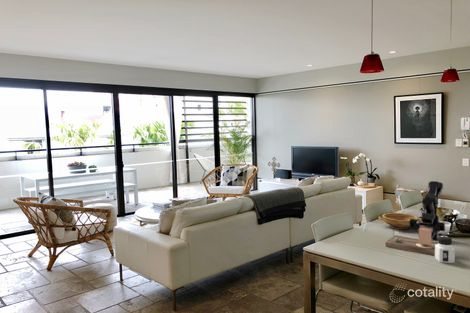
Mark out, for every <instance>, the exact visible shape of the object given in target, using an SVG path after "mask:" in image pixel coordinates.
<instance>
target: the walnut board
mask: <svg viewBox="0 0 470 313" xmlns="http://www.w3.org/2000/svg"><path fill="white" fill-rule="evenodd" d="M435 244H438V241H435V240H432V244H431V245H426V244H419V238H415V237H408V236H401V235H395V234H394V235H393V236H391V237H389V239H387V240H386V241H385V248H391V249H398V250H403V251H409V252H413V253H419V254H423V255H424V254H425V255H430V256H434V257H435Z"/></svg>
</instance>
